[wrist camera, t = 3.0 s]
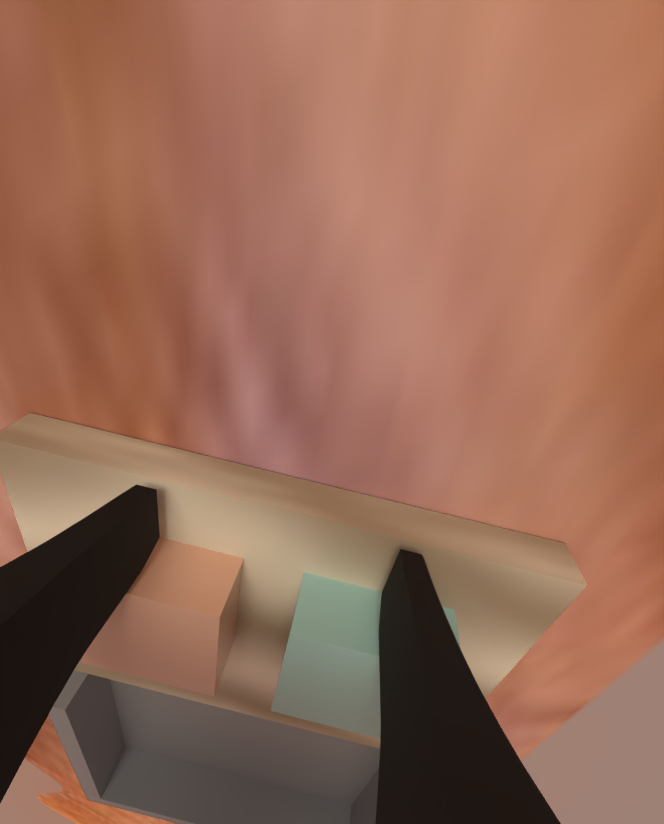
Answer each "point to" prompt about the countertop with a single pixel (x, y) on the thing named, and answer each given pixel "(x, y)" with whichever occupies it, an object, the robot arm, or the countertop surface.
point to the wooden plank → (290, 550)
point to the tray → (208, 760)
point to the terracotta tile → (174, 619)
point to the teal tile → (335, 656)
